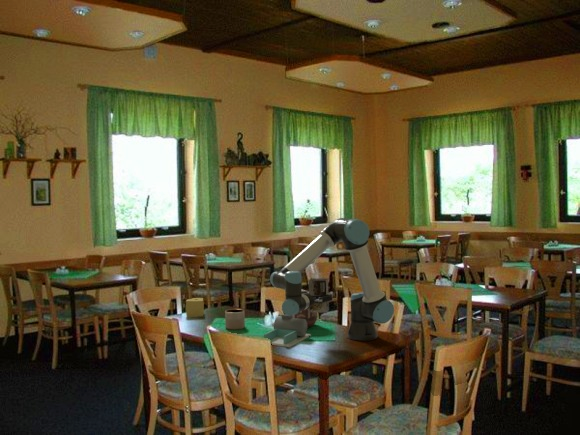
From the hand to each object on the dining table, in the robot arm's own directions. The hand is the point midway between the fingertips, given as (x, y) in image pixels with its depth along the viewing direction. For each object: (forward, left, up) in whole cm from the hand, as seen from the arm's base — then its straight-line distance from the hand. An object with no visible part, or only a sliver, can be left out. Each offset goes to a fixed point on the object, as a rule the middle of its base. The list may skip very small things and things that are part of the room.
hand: (322, 293), depth 309 cm
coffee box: (0, +4, -8) cm, 9 cm away
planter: (+56, -6, -24) cm, 61 cm away
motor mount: (+18, +6, -24) cm, 30 cm away
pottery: (+24, -25, -24) cm, 42 cm away
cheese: (+96, -24, -24) cm, 102 cm away
